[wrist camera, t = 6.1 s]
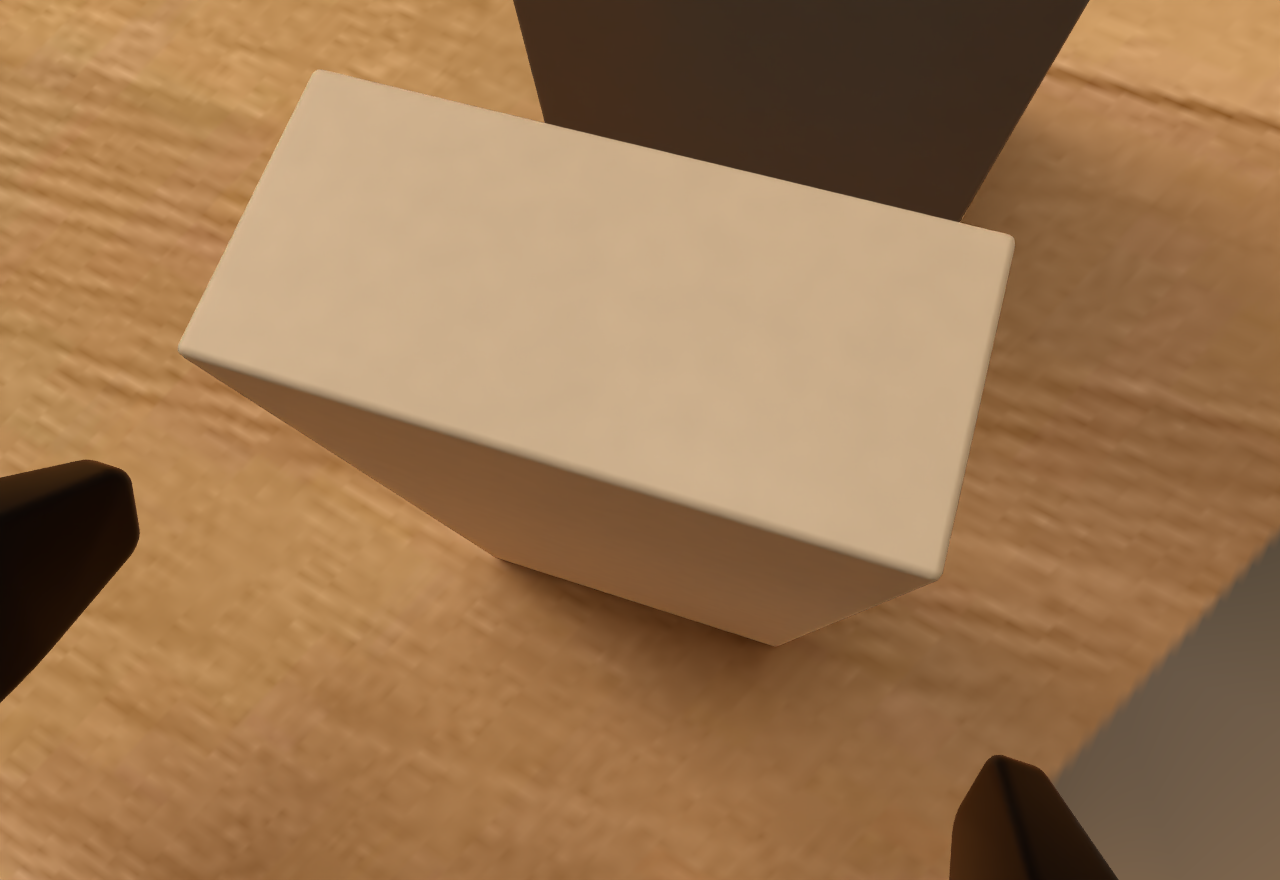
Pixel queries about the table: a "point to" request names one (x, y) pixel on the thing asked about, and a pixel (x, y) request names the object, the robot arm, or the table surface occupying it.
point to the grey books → (804, 85)
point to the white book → (614, 353)
